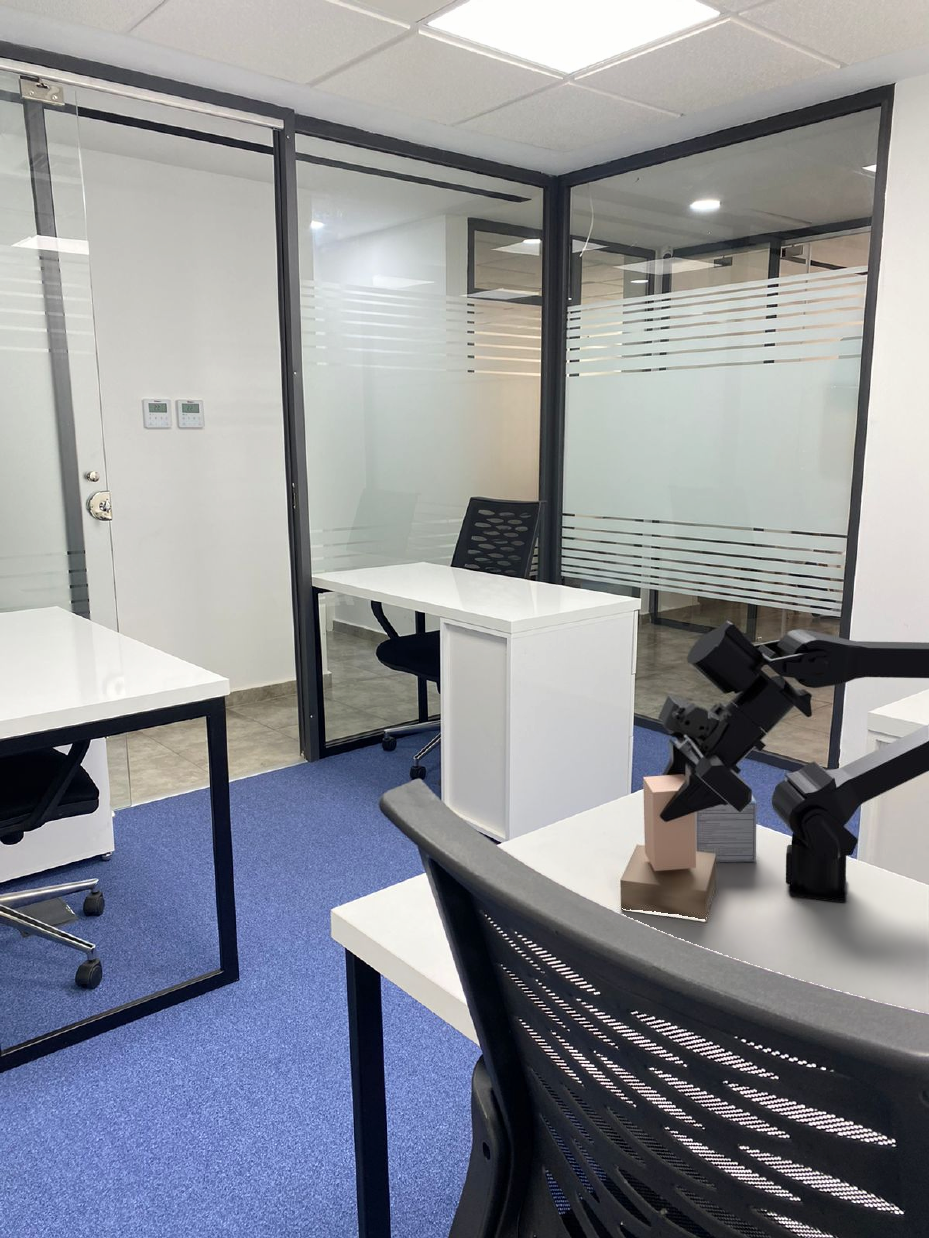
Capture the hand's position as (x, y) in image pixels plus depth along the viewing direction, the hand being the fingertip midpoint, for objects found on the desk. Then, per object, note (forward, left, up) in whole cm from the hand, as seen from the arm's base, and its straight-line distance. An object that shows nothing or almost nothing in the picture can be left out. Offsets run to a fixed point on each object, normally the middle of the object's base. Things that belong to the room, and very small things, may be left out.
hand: (657, 810), depth 112 cm
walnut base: (-1, -1, -11) cm, 12 cm away
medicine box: (-6, -14, -12) cm, 19 cm away
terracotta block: (-1, -1, -7) cm, 7 cm away
